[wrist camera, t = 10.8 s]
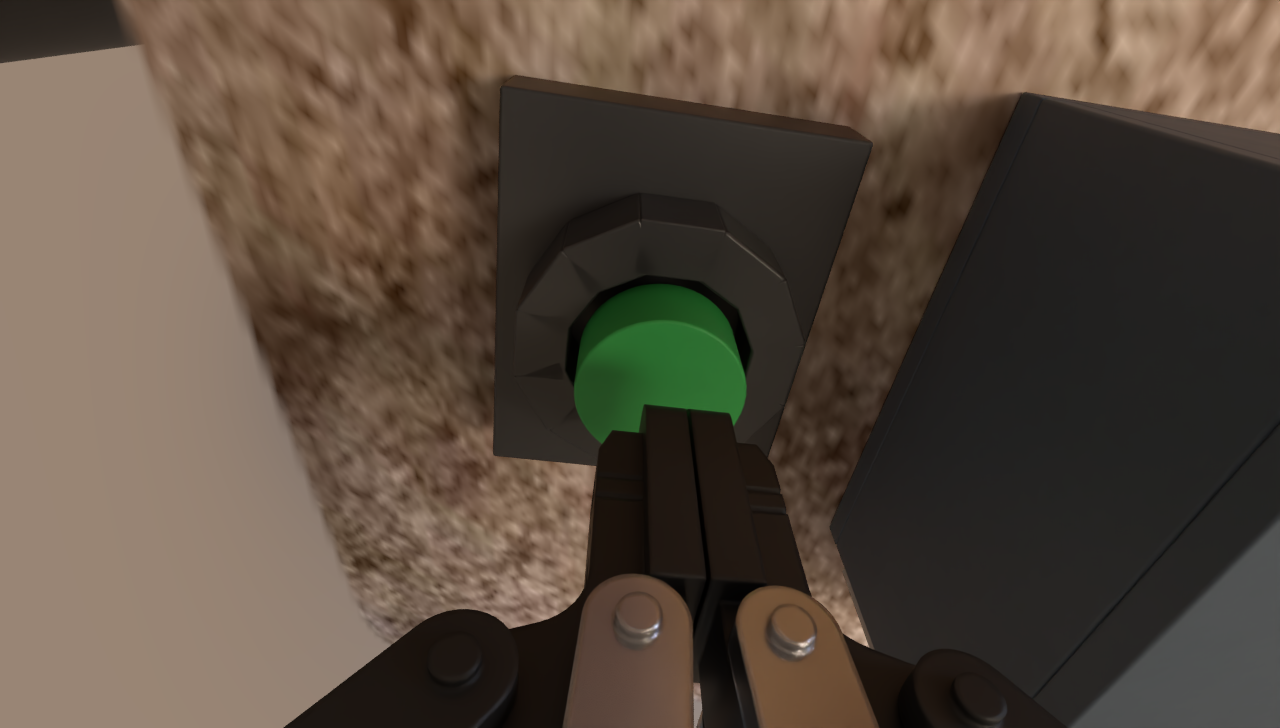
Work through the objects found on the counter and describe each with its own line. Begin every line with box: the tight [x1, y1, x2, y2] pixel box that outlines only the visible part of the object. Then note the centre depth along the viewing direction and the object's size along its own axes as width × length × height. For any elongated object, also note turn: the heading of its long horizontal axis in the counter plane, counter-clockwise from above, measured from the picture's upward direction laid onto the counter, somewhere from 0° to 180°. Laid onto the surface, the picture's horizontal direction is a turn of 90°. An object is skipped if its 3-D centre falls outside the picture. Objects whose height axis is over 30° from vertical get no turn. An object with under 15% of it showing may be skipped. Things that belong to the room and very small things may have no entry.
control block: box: [493, 75, 873, 466], centre depth 15 cm, size 10×8×4 cm
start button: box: [574, 284, 747, 444], centre depth 13 cm, size 4×4×2 cm
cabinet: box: [830, 92, 1280, 728], centre depth 14 cm, size 15×13×10 cm
